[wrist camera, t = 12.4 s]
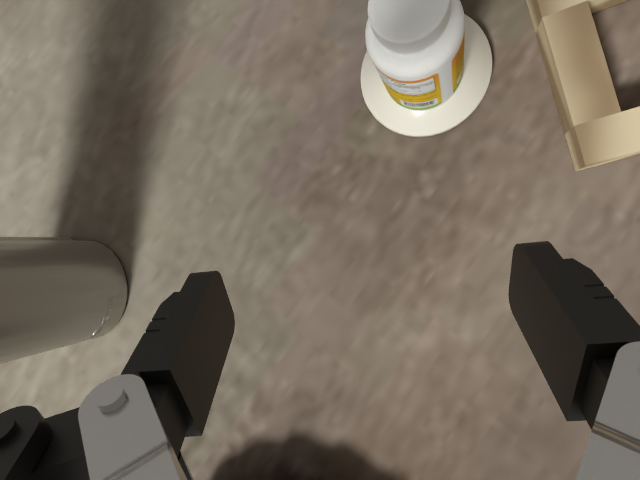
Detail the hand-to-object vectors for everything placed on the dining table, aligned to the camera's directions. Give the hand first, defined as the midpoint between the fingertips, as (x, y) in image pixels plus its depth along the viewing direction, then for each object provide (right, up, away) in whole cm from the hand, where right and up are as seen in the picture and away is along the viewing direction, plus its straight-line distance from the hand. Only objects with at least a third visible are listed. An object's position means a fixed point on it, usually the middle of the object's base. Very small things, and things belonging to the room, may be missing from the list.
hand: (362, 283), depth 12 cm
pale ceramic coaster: (+6, +13, +18) cm, 23 cm away
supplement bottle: (+6, +13, +18) cm, 23 cm away
